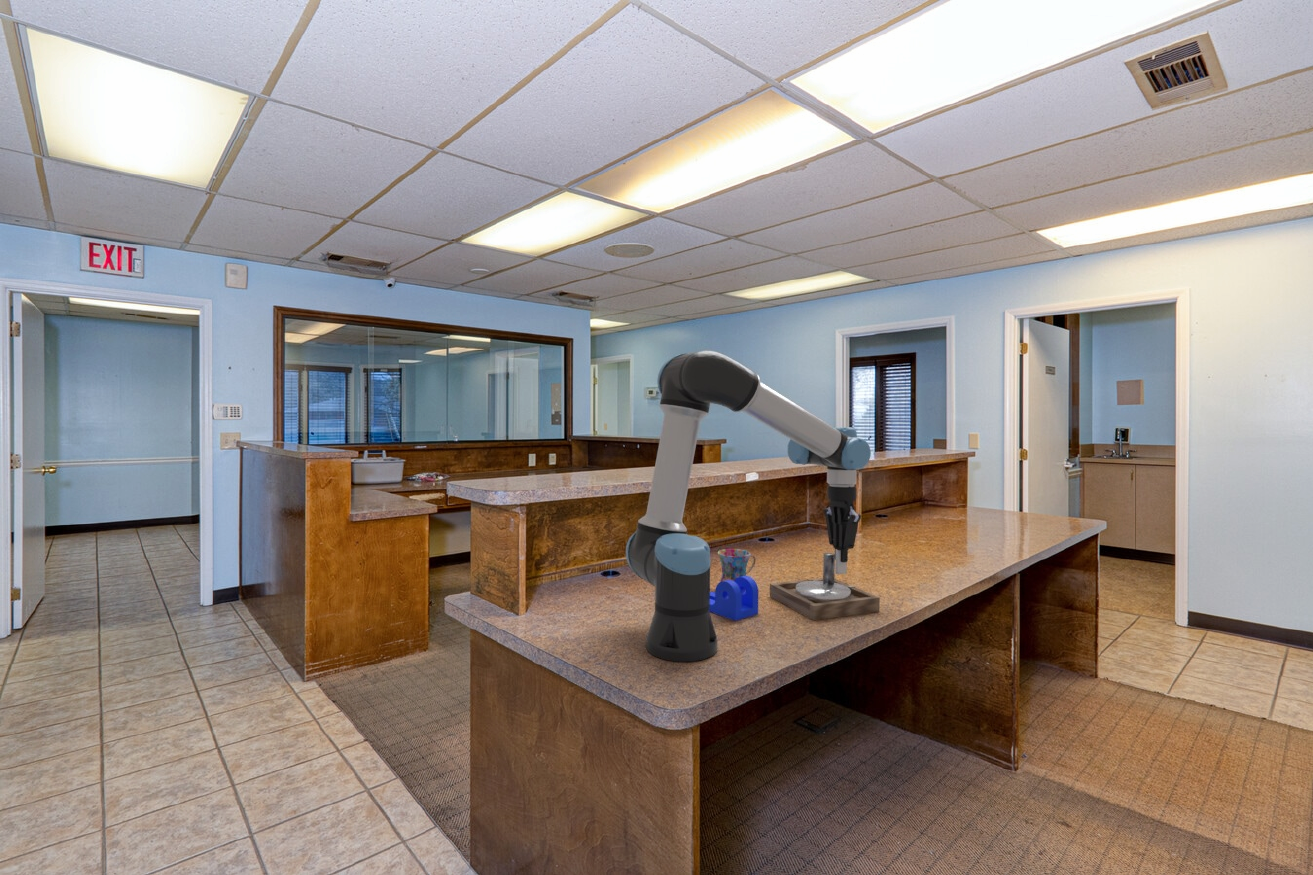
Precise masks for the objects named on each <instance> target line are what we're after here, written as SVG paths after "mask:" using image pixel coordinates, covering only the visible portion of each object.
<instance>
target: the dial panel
mask: <svg viewBox="0 0 1313 875" xmlns="http://www.w3.org/2000/svg"><path fill="white" fill-rule="evenodd" d="M805 581H823V577H820V578H806V579H802V580H795V581H794V580H793V581H782V582H773V583H769V598H772V599H773V600H775V601H777V602H779V603H781V604H783V605H785V606H786V607H788V608H790V609H792V610H794V611H796V612H797V613H799V614H801V615H803V616H805V617H806V618H808V619H810V620H812V621H819V620H825V619H832V618H841V617H847V616H855V615H861V614H869V613H874V612H875V613H876V612H880V603H881V602H880V601H881V600H880V599H881V598H880V597H879V596H876V595H875V594H872V593H870V592H867V591H865V590H862V589H860V588H858V587H856V586H854V585H852V584H851V585H850V584H847V583H845V582H843V581H840V580H838V579H836V578H835V579H834V583H838V584H841V585H844V586H846V587H848V588H849V589H850V590H851V598H850V599H848V600H840V601H832V602H824V603H813V602H811V601H809V600H807V599H805V598H803V597H801V596H799V595H797V594H796V585H797V584H798V583H800V582H805Z"/></svg>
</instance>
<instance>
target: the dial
mask: <svg viewBox="0 0 1313 875" xmlns="http://www.w3.org/2000/svg"><path fill="white" fill-rule="evenodd" d="M822 559H823V560H822V561H823V563H822V566H823V567H822V578H823V581H805V582H800V583H798V584H797V585H796V594H797V595H799V596H801V597H803V598H805V599H807V600H809V601H811V602H813V603H824V602H832V601H840V600H848V599H850V598H851V590H850V589H849V588H848V587H846V586H844V585H841V584H838V583H834V579H836V578H835V574H836V573H835V563H836V560H835V553H833V552H825V553H823V558H822Z"/></svg>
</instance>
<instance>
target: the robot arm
mask: <svg viewBox="0 0 1313 875" xmlns="http://www.w3.org/2000/svg"><path fill="white" fill-rule="evenodd" d="M656 383H657V389H658V391H659V392H660V395H661V396H660V401H659V407H660V409H661V410H662V412H663V416H664V417H663V421H662V426H661V433H660V436H659V442H658V448H657V453H656V459H655V466H654V470H653V477H652V481H651V487H650V491H649V497H648V502H647V508H646V513H645V515H643V516H642V517H641V518H640V519H638V521H637V526H636V531H635V532H633V534H632V535H631V536H629V538H628V540H627V543H626V546H625V559H626V561H627V564H628V566H629V568H630V569H631V570H632V571H633V572H634V574H635V575H636V576H638V578H640V579H641V580H644V581H645V582H647V583H648V584H650V585H652V586H654V614H653V617H652V619H651V622H650V625H649V628H648V632H647V634H646V639H645V641H646V644H645V645H646V646H645V647H646V650H647V651H648V653H649V654H650V655H653V656H654V657H656V658H658V659H662V660H665V661H671V662H678V663H679V662H683V663H685V662H687V663H688V662H697V661H703V660H706V659H708V658H711V657H713V656H714V655H715V654H716V653H717V651H718V637H717V633H716V630H715V627H714V624H713V621H712V617H711V612H709V605H710V592H711V565H712V557H711V549H710V546H709V544H708V543H707V541H706V540H704V539H703V538H701V537H699V536H696V535H689V534H687V532H688V529H687V527H686V526H685V524H684V523H683V517H684V511H685V506H686V502H687V501H686V500H687V496H688V491H689V485H690V480H691V474H692V470H693V469H692V468H693V465H694V464H693V463H694V459H695V458H694V457H695V453H696V452H695V451H696V447H697V441H698V435H699V430H700V426H701V422H702V420H703V419H704V418H706V417H707V416H708V415H709V411H710V406H711V404H713V405H718V406H721V407H725V408H727V409H728V410H731V411H732V412H734V413H740V412H743V413H744V414H747V415H749V416H750V417H752V418H754V419H755V420H757V421H759V422H760V423H762V424H764V425H766V426H767V427H769V428H771V429H773V430H774V431H776V432H777V433H780V435H783V436H784V437H786V438H787V439H789V441H788V444H787V456H788V458H789V460H790V462H791V463H793V464H795V465H802V466H804V465H816V466H821V467H826V468H827V469H826V483H827V484H828V485H827V487H826V498H827V500H829V504H828V505H829V506H828V507H827V508H824V509H823V514H824V517H825V523H826V529H827V538H828V542H829V545H831V546H832V547H833V549H834V554H835V574H836V575H846V574H848V562H849V560H848V558H849V557H848V555H849V552H848V551H849V550H852V549H854V547H855V543H856V536H857V532H858V526H859V522H860V521H861V519H862V515H861V514H860V513H857V512H856V511H855V505H854V503H855V501H856V500H857V498H858V497H857V492H858V491H857V487H856V486H855V485H857V483H858V482H857V478H858V477H857V470H862V469H863V468H865V467H866V466H867V465H868V463H869V462H870V459H871V456H872V451H871V447H870V445H869V443H868V442H867V441H866V440H865V439H863V438H859V437H858V435H857V434H858V432H857V429H856V428H854V427H849V426H848V427H847V426H843V427H841V426H840V427H839V426H838V427H836V426H835V427H833V426H831V425H830V424H828V423H827V422H825V421H824V420H822V419H821V418H820V417H817V416H816V415H814V414H813V413H811V412H809V411H807V410H806V409H805V408H803V407H801V406H800V405H798V404H797V403H795V402H793V401H792V400H790V399H789V398H787V397H785V396H784V395H782V394H780V393H779V392H777V391H776V390H774V389H772V388H771V387H769V386H767V385H766V384H764V383H763V382H762V381H760V376H759V375H758V374H757V373H756V372H754V371H752V370H751V369H749V368H748V367H746V366H744V365H743V364H741V363H740V362H738V361H737V360H735V359H734V358H731V357H729V356H727V355H725V354H723V353H720V352H719V351H716V350H715V351H714V350H709V349H708V350H699V351H695V352H690V353H687V352H686V353H680V354H677V355H675V356H673V357H671V358H669V359H668V360H666V361H665V362H664V364H663V365H662V366H661V368H660V370H659V372H658V374H657V382H656Z"/></svg>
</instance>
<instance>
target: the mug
mask: <svg viewBox="0 0 1313 875" xmlns="http://www.w3.org/2000/svg"><path fill="white" fill-rule="evenodd" d="M717 555H718V557H719V560H720V564H721V578H720V582H722V581H726V580H732V581H734V580H735V579H736V578H738V577H742V576H747V575H748V574H749V573H750V572H751V571H752V569H753V568H754V567H755V564H756V560H757V559H756V556H755V555H752V554H751V552H750V551H748V550H745V549H737V548H726V549H720V550H718V551H717ZM750 557H752V558H753V560H752V561H753V562H752V564H751V566H750V568H749V569H747V566H748V563H749V559H750ZM720 582H719V583H720Z"/></svg>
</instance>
